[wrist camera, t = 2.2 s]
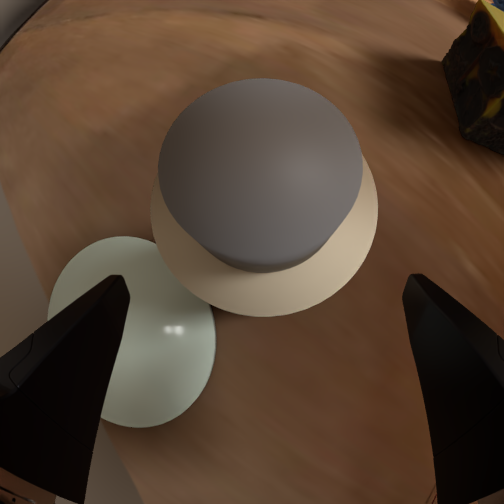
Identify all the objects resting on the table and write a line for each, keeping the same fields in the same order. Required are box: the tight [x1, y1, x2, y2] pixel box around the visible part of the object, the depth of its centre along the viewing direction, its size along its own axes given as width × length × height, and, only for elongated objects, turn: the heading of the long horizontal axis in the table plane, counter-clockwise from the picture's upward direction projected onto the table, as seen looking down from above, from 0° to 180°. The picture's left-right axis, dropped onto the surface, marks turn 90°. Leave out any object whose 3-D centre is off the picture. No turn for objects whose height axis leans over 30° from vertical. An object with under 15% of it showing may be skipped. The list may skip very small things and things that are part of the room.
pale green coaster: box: [47, 236, 216, 428], centre depth 18 cm, size 13×13×1 cm
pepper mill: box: [150, 78, 378, 317], centre depth 12 cm, size 6×6×14 cm
